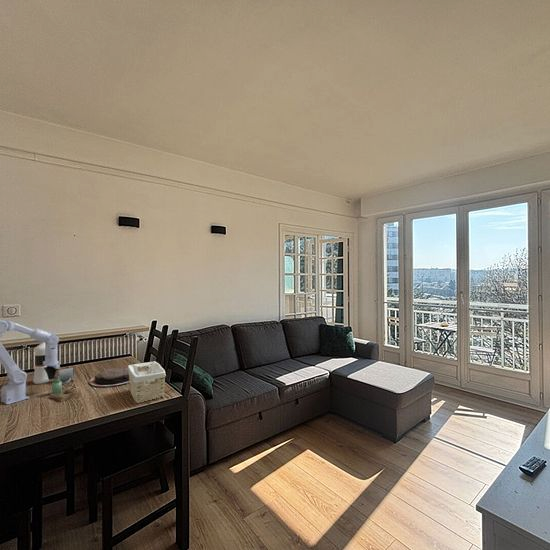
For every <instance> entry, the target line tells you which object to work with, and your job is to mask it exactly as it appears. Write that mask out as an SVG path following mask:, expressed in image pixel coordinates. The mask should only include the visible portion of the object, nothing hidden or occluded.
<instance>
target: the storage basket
mask: <svg viewBox="0 0 550 550" xmlns="http://www.w3.org/2000/svg"><path fill="white" fill-rule="evenodd" d="M127 368H128V373H129V383H128V385H129V391H130V394H131V396H132V398H133V400H134V402H135V403H136V404H137V403H138V404H140V402H141V403H145V402H144V401H146V402H149V401H148V400H151V401H153V400H152V399H155V398H159V397H163V396H164V395H165V385H166V384H165V383H166V382H165V381H166V377H167V375H166V371H165V369H164V368H163V367H162V366H161V364H160V363H158V362H157V361H149V362H142V363H135V364H129V365H128V366H127ZM145 368H147V369H148V370H141V371H139V369H145ZM164 397H165V396H164ZM164 397H163V398H164ZM155 400H156V399H155Z"/></svg>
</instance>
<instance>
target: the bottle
mask: <svg viewBox="0 0 550 550" xmlns="http://www.w3.org/2000/svg"><path fill="white" fill-rule="evenodd" d="M59 379H60V376H57V375H56V376H54V379H53V380H54V382H52V383H51V394H53V393H54V394H57V395H61V394H62V392H63V388H62V387H63V384H62V381H59Z"/></svg>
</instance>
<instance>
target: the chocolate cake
mask: <svg viewBox="0 0 550 550" xmlns="http://www.w3.org/2000/svg"><path fill="white" fill-rule="evenodd" d="M127 383H128V384H129V373H128V367H126V368H125V367H117V368H116V367H114V368H109V369H105V370H102V371H100V372H98V373H97V374H95V375H94V376H93V377H92V378H91V379H90V380H89V385H91V386H92V387H102V388H111V387H112V388H113V387H114V388H115V387H120V386H122V385H128V384H127Z"/></svg>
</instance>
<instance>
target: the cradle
mask: <svg viewBox="0 0 550 550" xmlns="http://www.w3.org/2000/svg"><path fill="white" fill-rule="evenodd" d="M81 396H82V391H81V390H74V389H71V388H67V389H65V394H63V395H61V394H54V393H53V394H52V393H50V394H49V398H51V399H54V400H56V401H59V402H60V403H62V402H65V401H69V400H72V399H75V398H78V397H81Z"/></svg>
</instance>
